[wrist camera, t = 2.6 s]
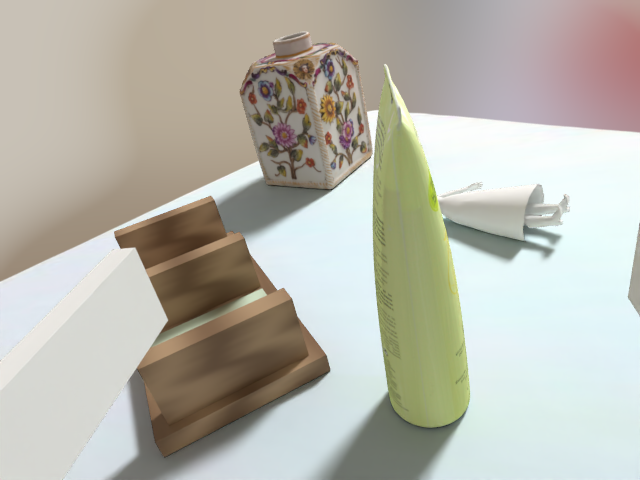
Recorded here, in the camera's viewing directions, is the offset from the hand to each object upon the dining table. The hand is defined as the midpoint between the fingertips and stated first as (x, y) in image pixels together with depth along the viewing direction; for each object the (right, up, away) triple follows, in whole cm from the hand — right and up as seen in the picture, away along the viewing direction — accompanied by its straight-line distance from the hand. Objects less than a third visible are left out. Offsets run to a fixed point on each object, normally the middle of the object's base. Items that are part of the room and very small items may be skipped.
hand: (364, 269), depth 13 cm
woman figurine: (+13, +2, +34) cm, 37 cm away
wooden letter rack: (-11, -6, +29) cm, 31 cm away
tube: (+6, -9, +17) cm, 20 cm away
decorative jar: (-1, +11, +54) cm, 55 cm away
